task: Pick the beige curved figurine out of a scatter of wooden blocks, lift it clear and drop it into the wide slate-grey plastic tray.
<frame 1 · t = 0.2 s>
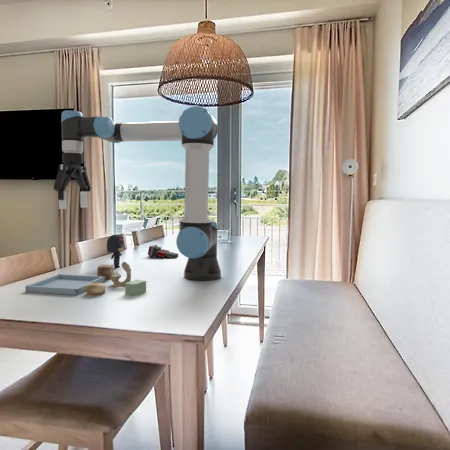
hand: (73, 208, 143), 28 cm above the table, fingers open, 13 cm apart
tray: (67, 286, 132), on the table
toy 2: (163, 257, 195), on the table
oak disc: (95, 293, 124), on the table
walnut cube: (105, 278, 146), on the table
toy: (115, 267, 167), on the table
beige curved figurine: (118, 286, 135), on the table
green painted block: (135, 293, 126), on the table
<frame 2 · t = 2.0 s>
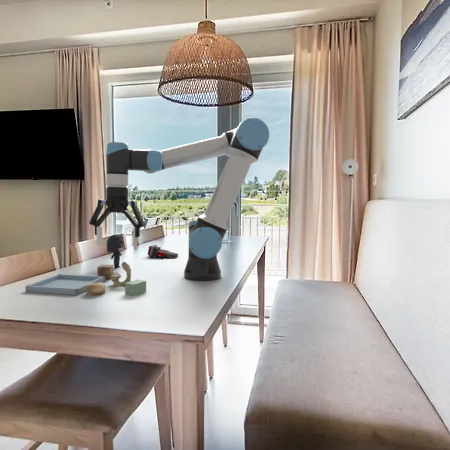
hand: (117, 245, 134), 15 cm above the table, fingers open, 13 cm apart
nothing on the table moved.
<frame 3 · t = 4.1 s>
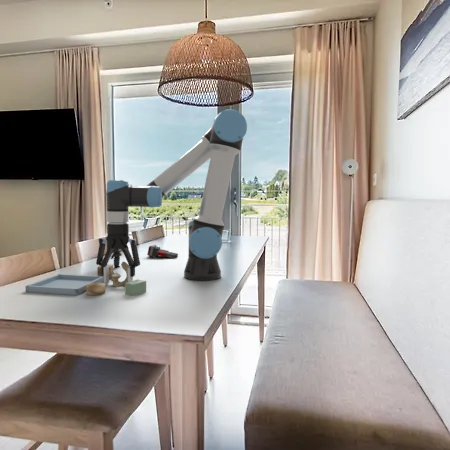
hand: (118, 284, 135), 0 cm above the table, fingers closed on beige curved figurine, 8 cm apart
beige curved figurine: (118, 286, 135), on the table, touching gripper
everything else where it was.
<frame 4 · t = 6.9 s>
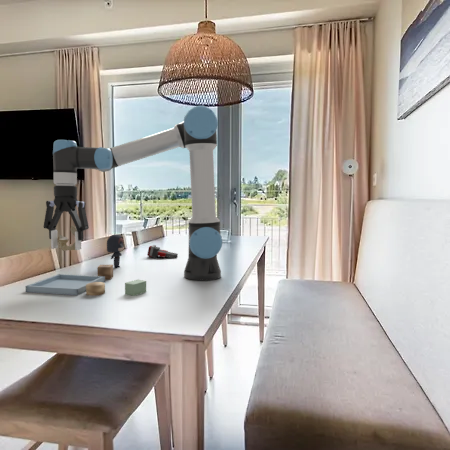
hand: (66, 248, 131), 14 cm above the table, fingers closed on beige curved figurine, 8 cm apart
beige curved figurine: (66, 250, 131), point 13 cm above the table, touching gripper
everything else where it was.
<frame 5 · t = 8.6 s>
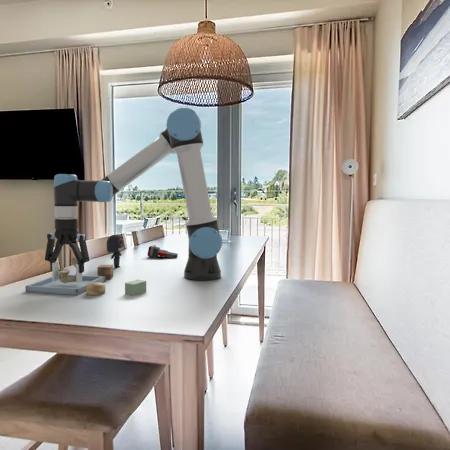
hand: (67, 280, 132), 2 cm above the table, fingers closed on beige curved figurine, 8 cm apart
beige curved figurine: (67, 282, 132), point 1 cm above the table, touching gripper
everything else where it was.
when the fingers open (2 cm above the table, at t = 9.9 s): beige curved figurine stays where it is, resting on tray.
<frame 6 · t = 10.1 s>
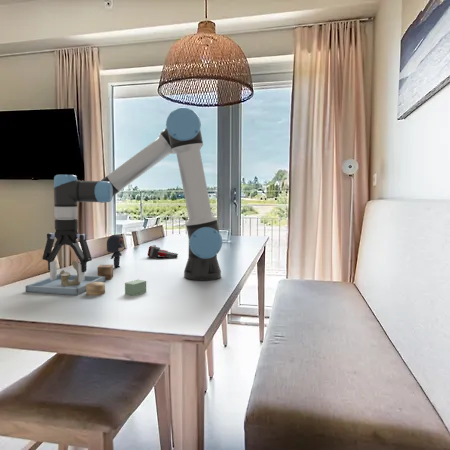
hand: (67, 280, 132), 2 cm above the table, fingers open, 10 cm apart
beige curved figurine: (67, 285, 132), resting on tray
everything else where it was.
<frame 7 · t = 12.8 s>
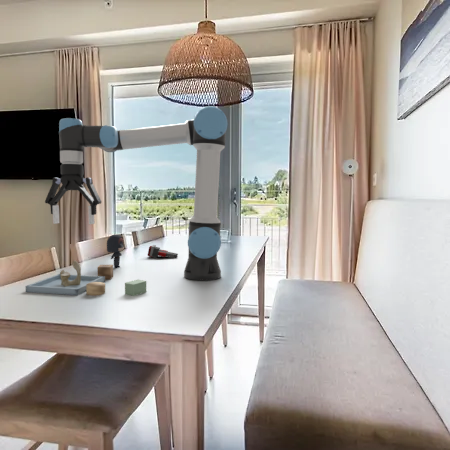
hand: (73, 223, 132), 23 cm above the table, fingers open, 13 cm apart
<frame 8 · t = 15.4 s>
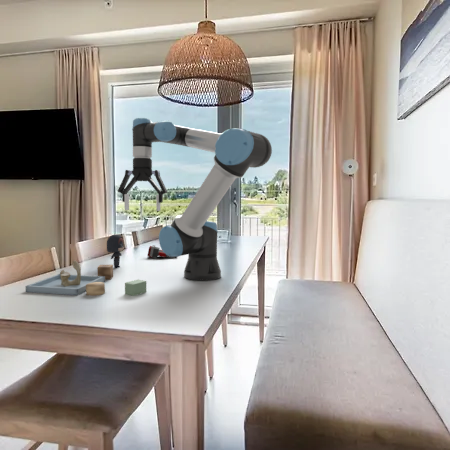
hand: (142, 210, 151), 27 cm above the table, fingers open, 13 cm apart
at the end: beige curved figurine inside the target area on the tray (0.1 cm from its centre), point 0.3 cm above the tray's base; beige curved figurine moved 17.6 cm from its start; the gripper is holding nothing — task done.
